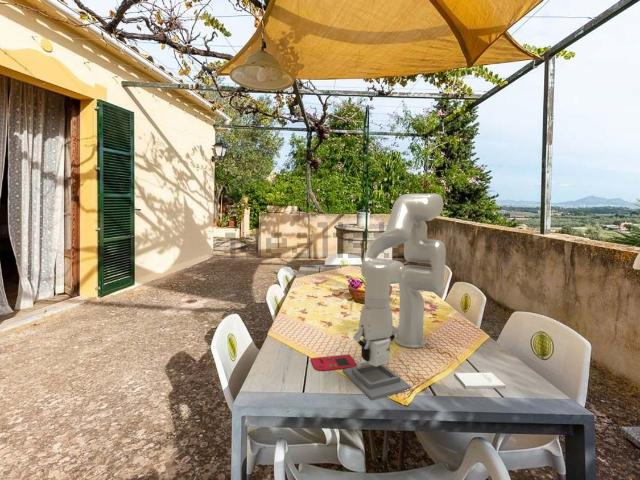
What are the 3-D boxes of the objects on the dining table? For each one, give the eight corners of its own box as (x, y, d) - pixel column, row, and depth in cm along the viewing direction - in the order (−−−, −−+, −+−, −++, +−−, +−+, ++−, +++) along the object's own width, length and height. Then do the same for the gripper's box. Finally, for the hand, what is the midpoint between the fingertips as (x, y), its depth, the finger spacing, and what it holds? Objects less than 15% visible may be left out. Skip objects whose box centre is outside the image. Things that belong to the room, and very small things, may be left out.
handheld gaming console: (310, 357, 124) (349, 353, 127) (310, 360, 124) (349, 357, 127) (315, 369, 114) (358, 365, 118) (315, 373, 115) (358, 369, 118)
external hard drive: (453, 377, 113) (490, 376, 113) (465, 390, 104) (505, 389, 105) (453, 372, 112) (490, 371, 113) (465, 385, 104) (505, 384, 105)
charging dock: (342, 372, 114) (342, 362, 114) (378, 364, 120) (378, 354, 120) (372, 400, 98) (372, 388, 98) (411, 389, 104) (411, 378, 103)
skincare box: (375, 367, 104) (376, 344, 103) (362, 360, 109) (362, 337, 108) (389, 362, 108) (390, 339, 107) (375, 355, 112) (376, 333, 112)
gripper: (392, 296, 113) (391, 348, 115) (346, 302, 106) (345, 357, 108) (407, 302, 107) (405, 357, 108) (359, 309, 100) (357, 367, 101)
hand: (375, 357), depth 108 cm, fingers closed on skincare box, 6 cm apart
